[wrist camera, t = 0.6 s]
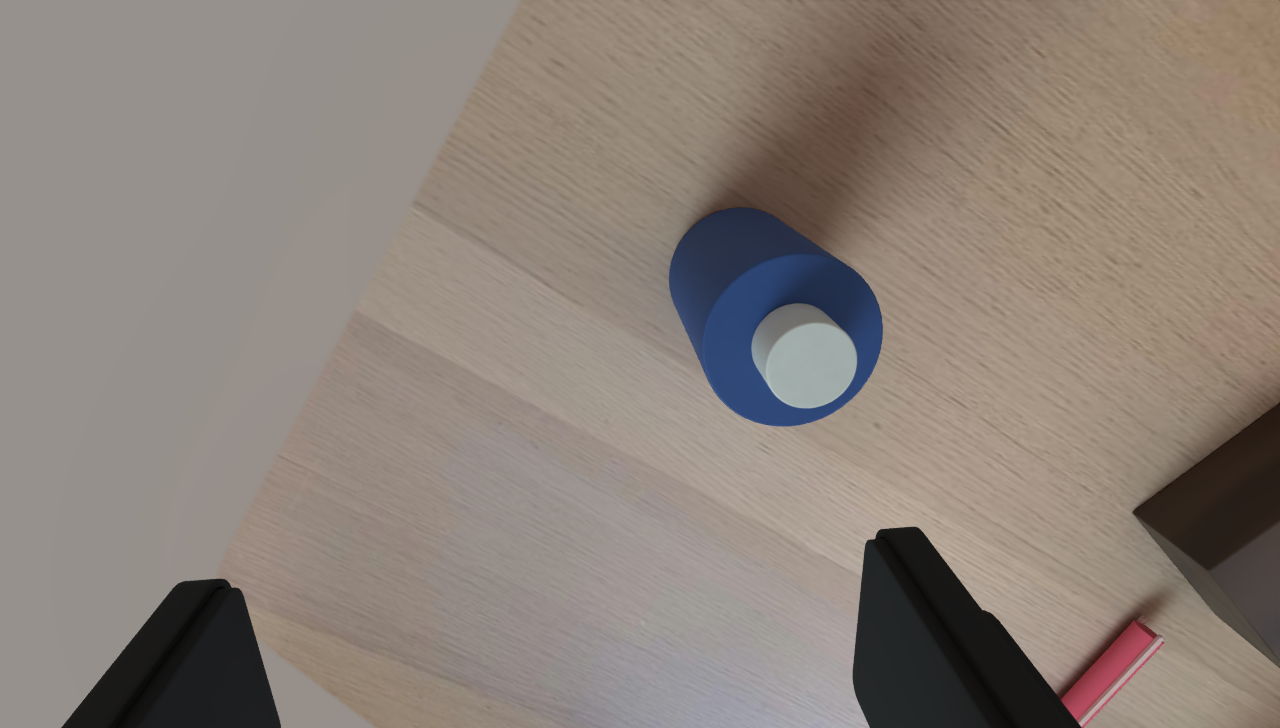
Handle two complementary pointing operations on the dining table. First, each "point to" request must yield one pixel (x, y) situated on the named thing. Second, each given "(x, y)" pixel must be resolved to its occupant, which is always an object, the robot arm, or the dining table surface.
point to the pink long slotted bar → (1112, 671)
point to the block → (1229, 531)
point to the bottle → (774, 317)
